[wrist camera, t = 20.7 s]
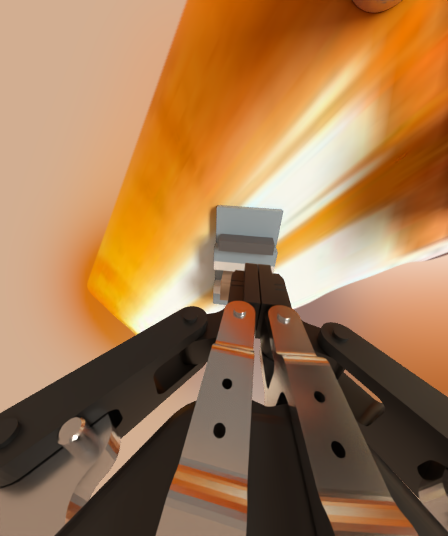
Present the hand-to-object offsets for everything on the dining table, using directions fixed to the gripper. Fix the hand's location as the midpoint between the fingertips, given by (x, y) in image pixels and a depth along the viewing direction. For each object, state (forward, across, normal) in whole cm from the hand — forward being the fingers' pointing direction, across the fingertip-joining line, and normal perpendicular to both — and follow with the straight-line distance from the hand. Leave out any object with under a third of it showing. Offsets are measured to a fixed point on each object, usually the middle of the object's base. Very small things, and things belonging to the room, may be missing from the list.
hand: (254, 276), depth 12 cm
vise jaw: (+25, 0, +11) cm, 27 cm away
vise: (+27, 0, +13) cm, 30 cm away
